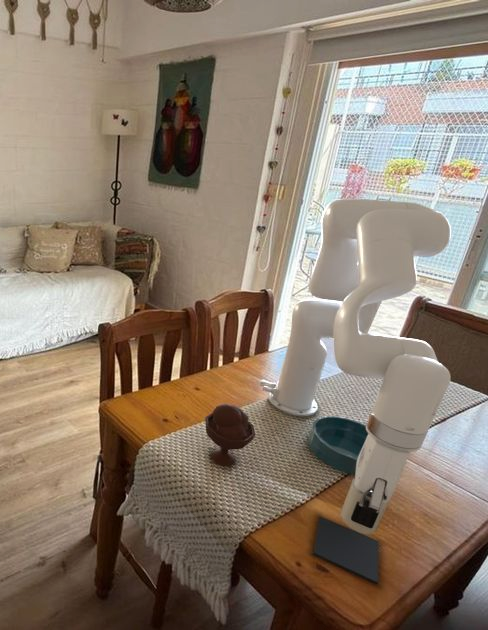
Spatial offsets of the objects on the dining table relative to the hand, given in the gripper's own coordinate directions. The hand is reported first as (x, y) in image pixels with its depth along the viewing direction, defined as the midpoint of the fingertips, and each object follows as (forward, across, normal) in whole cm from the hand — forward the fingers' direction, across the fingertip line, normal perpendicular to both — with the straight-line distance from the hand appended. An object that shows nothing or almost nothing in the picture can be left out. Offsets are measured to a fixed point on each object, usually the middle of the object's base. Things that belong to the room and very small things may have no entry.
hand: (362, 510), depth 78 cm
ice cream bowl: (+10, -11, -26) cm, 30 cm away
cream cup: (+3, 0, 0) cm, 3 cm away
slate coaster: (+10, 0, 0) cm, 10 cm away
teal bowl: (+10, -30, -2) cm, 32 cm away
